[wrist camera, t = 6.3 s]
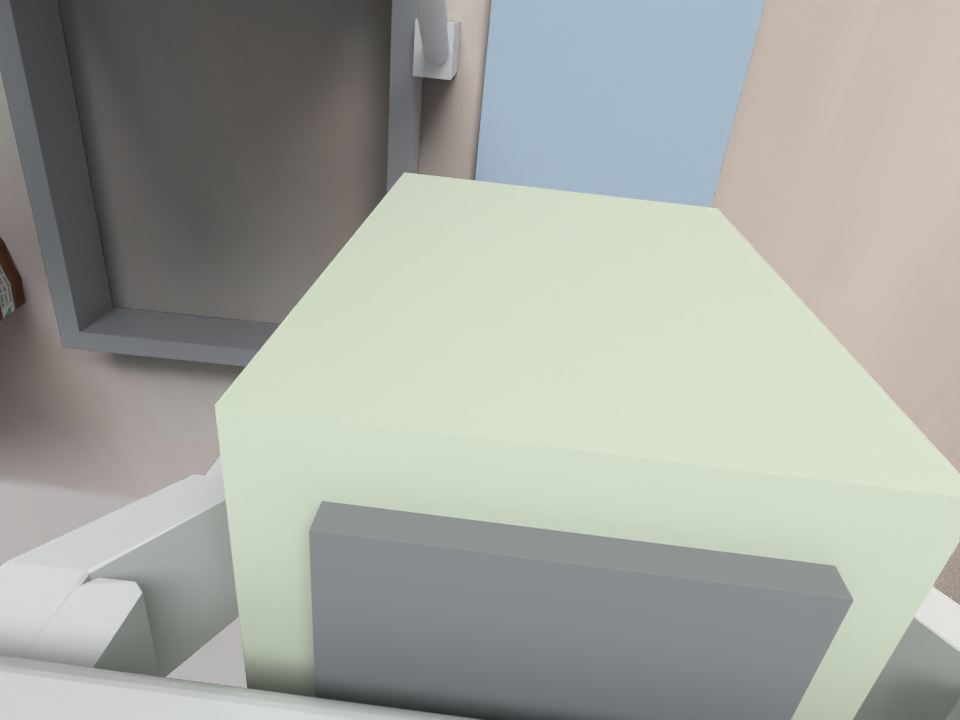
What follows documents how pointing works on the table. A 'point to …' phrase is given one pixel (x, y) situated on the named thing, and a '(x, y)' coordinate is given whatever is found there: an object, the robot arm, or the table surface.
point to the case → (69, 199)
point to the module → (571, 473)
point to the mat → (614, 95)
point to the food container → (9, 284)
